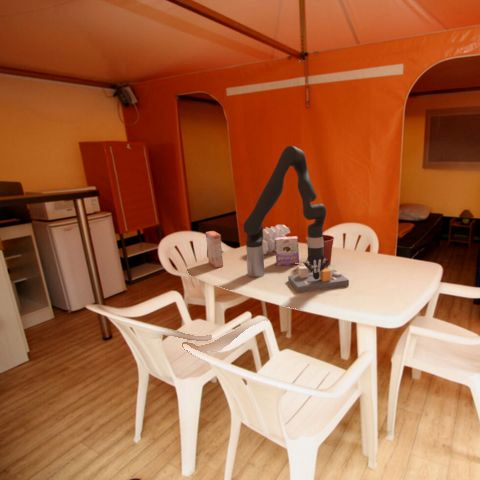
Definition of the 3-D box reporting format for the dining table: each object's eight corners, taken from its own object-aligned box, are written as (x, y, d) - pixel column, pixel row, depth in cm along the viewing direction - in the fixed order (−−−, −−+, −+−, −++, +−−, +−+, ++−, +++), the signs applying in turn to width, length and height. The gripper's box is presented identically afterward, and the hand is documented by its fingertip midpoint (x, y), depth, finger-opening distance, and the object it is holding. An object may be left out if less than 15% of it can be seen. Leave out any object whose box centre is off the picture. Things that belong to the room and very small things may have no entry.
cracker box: (223, 266, 205) (220, 234, 200) (214, 268, 203) (211, 235, 198) (217, 260, 218) (214, 230, 213) (208, 262, 216) (205, 231, 210)
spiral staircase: (255, 260, 226) (279, 249, 241) (270, 253, 212) (295, 243, 227) (244, 235, 227) (269, 227, 242) (259, 227, 213) (285, 219, 228)
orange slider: (323, 281, 161) (322, 271, 160) (319, 278, 165) (319, 269, 164) (330, 280, 162) (330, 270, 160) (327, 277, 165) (327, 268, 164)
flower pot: (334, 259, 202) (334, 234, 198) (334, 268, 186) (334, 241, 182) (307, 259, 206) (306, 234, 202) (305, 268, 191) (304, 241, 187)
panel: (298, 292, 158) (297, 285, 157) (288, 281, 174) (288, 274, 173) (348, 285, 162) (348, 278, 161) (334, 274, 177) (334, 267, 176)
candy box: (298, 261, 204) (297, 235, 200) (299, 264, 198) (298, 238, 194) (276, 262, 205) (274, 236, 201) (276, 265, 199) (274, 239, 195)
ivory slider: (301, 278, 168) (300, 268, 166) (298, 275, 172) (298, 266, 170) (308, 277, 168) (308, 267, 167) (305, 274, 172) (305, 265, 171)
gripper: (325, 241, 162) (325, 274, 167) (299, 245, 161) (300, 278, 165) (331, 245, 155) (332, 279, 159) (304, 248, 154) (306, 283, 158)
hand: (316, 278), depth 162 cm, fingers closed
